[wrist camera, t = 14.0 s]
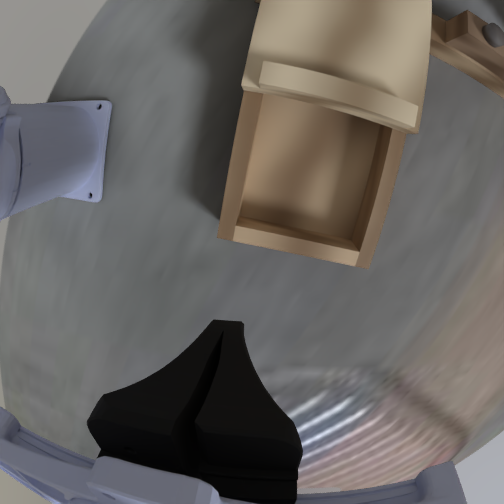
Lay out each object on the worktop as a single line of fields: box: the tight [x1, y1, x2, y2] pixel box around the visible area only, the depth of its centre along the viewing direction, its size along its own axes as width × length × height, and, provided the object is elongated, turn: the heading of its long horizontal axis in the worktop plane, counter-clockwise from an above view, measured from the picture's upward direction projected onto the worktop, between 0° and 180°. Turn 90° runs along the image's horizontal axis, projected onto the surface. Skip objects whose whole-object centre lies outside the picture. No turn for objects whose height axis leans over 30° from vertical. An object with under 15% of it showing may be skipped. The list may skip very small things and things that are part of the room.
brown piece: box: [217, 0, 504, 269], centre depth 16 cm, size 24×19×3 cm
